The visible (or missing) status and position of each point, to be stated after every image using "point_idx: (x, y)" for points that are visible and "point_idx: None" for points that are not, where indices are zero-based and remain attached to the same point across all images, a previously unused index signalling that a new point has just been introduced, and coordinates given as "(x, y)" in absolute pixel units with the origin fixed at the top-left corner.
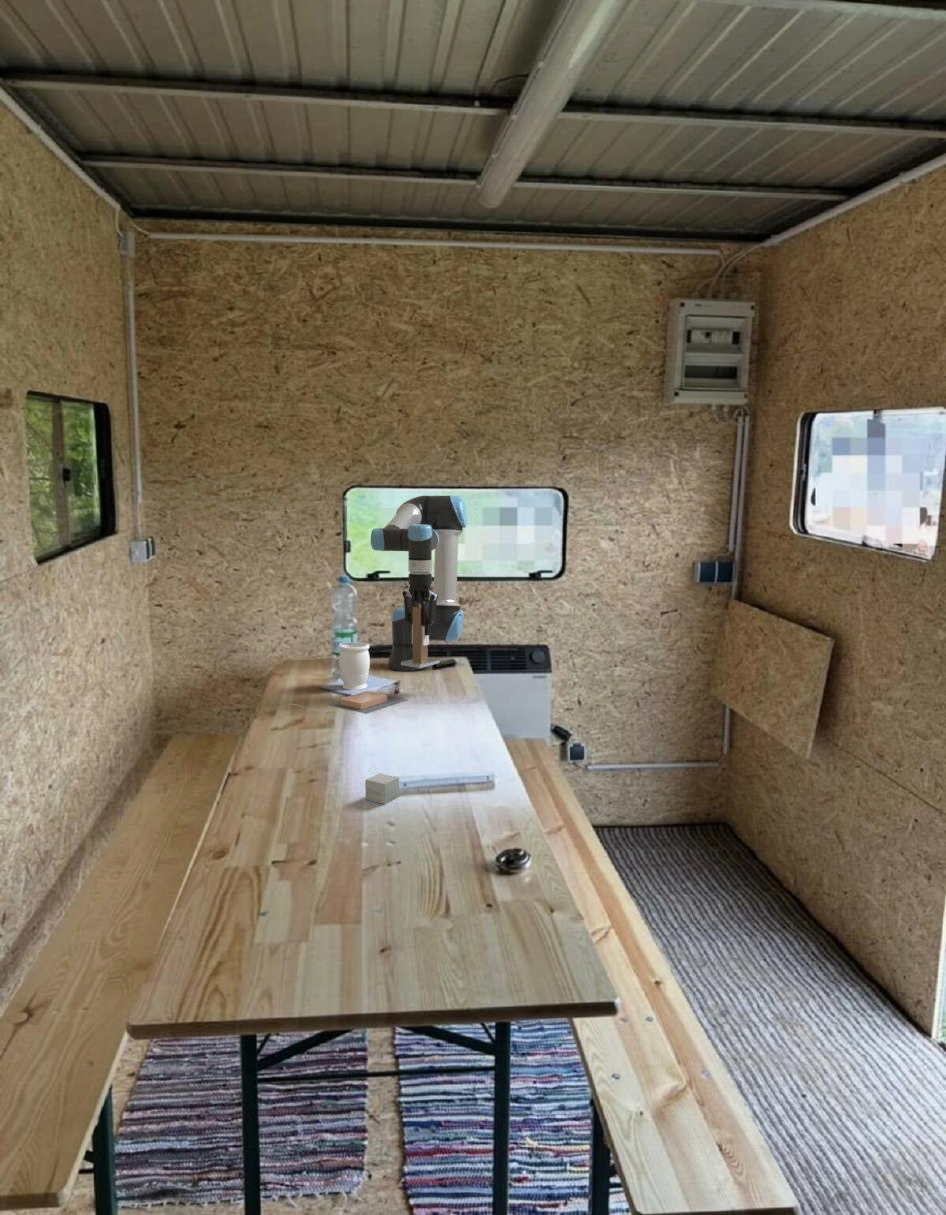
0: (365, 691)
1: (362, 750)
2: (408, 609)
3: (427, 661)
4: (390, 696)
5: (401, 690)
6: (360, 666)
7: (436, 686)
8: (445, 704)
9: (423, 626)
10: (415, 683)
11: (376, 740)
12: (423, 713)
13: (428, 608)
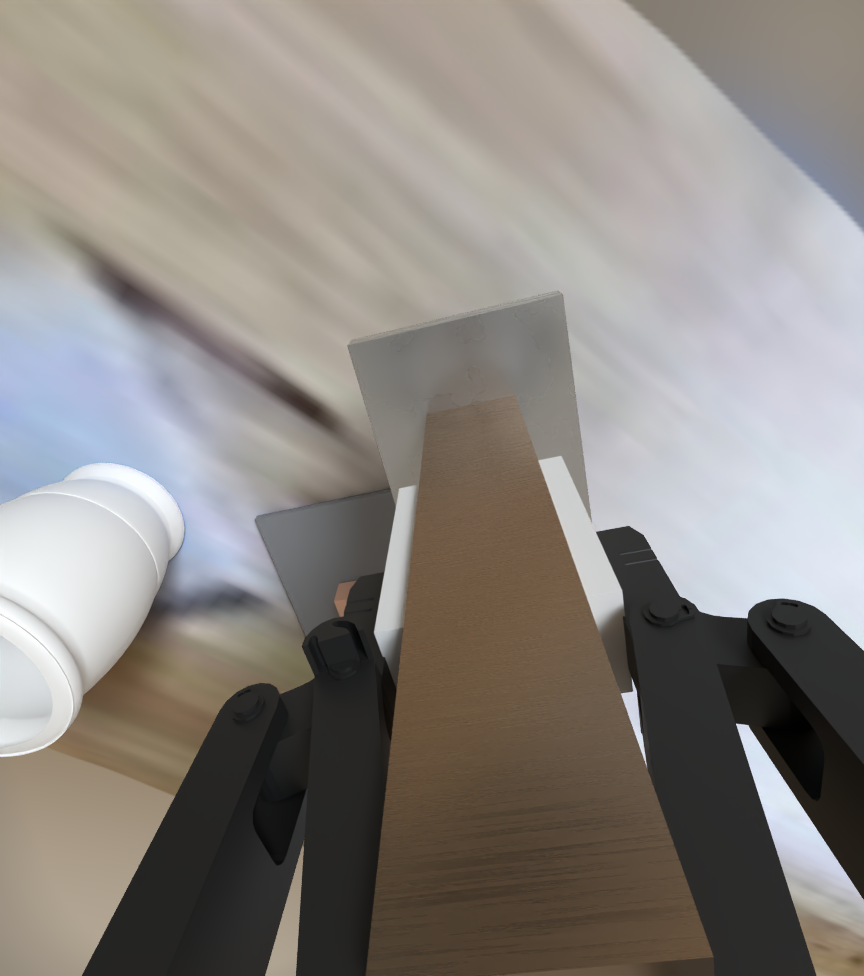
0: (340, 608)
1: (816, 840)
2: (250, 969)
3: (533, 413)
4: (392, 499)
5: (293, 368)
6: (141, 609)
7: (329, 119)
8: (686, 362)
9: (629, 686)
10: (182, 189)
11: (788, 786)
12: (706, 532)
13: (794, 937)
